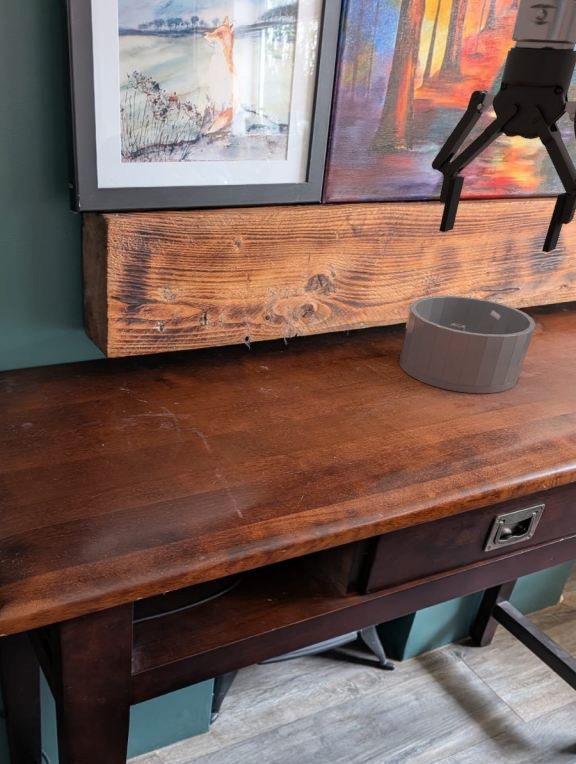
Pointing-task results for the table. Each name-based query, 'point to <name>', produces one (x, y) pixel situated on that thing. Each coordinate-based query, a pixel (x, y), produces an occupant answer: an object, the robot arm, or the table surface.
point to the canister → (465, 344)
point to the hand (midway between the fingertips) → (495, 240)
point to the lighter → (483, 327)
